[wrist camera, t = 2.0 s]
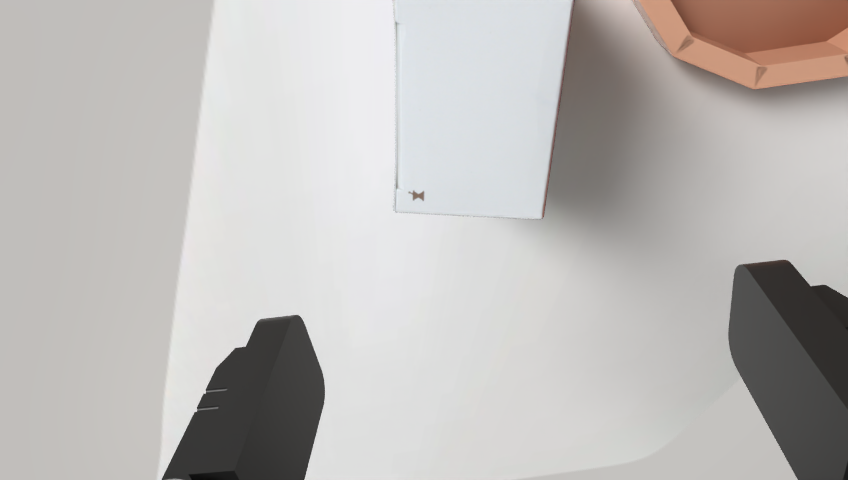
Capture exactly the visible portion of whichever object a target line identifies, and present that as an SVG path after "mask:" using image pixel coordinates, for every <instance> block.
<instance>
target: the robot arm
mask: <svg viewBox="0 0 848 480" xmlns="http://www.w3.org/2000/svg"><path fill="white" fill-rule="evenodd" d="M729 346H730V351H731V355H732V358H733V361H734V364H735V366H736V368H737V370H738V372H739V373H740V375H741V377H742V379H743V381H744V383H745V384H746V386H747V388H748V390H749V392H750V393H751V395H752V397H753V399H754V401H755V403H756V404H757V406H758V408H759V410H760V411H761V413H762V415H763V417H764V419H765V421H766V423H767V424H768V426H769V428H770V430H771V432H772V433H773V435H774V437H775V439H776V441H777V442H778V444H779V446H780V448H781V450H782V452H783V453H784V455H785V457H786V459H787V461H788V462H789V464H790V466H791V468H792V470H793V471H794V473H795V475H796V477H797V479H798V480H848V298H847V297H846V296H843V295H842V294H840V293H839V292H837V291H835V290H833V289H832V288H830V287H828V286H826V285H819V286H810V285H809V284H808V283H807V282H806V280H805V279H804V278H803V277H802V276H801V274H800V273H799V272H798V271H797V270H796V268H795V267H794V266H793V265H792V264H791V263H790V262H789V261H787V260H778V261H769V262H760V263H752V264H743V265H739V266H737V268H736V270H735V273H734V281H733V291H732V301H731V311H730V322H729ZM324 398H325V385H324V378H323V373H322V370H321V368H320V365H319V362H318V359H317V357H316V354H315V351H314V348H313V346H312V343H311V340H310V338H309V335H308V332H307V329H306V327H305V324H304V322H303V320H302V318H301V317H300V316H299V315H292V316H284V317H275V318H266V319H260V320H259V321H258V322H257V324H256V325H255V328H254V330H253V332H252V334H251V337H250V339H249V341H248V343H247V345H246V347H240V348H235V349H234V350H233V351H232V352H231V353H230V354H229V356H228V357H227V358H226V359H225V360H224V361H223V362H222V363H221V364H220V365H219V366H218V367H217V368H216V370H215V372H214V374H213V376H212V378H211V380H210V382H209V384H208V386H207V388H206V394H203V396H202V398H201V400H200V402H199V405H198V407H197V412H195V413H194V415H193V417H192V419H191V421H190V423H189V425H188V427H187V429H186V431H185V433H184V435H183V437H182V439H181V441H180V443H179V445H178V447H177V449H176V451H175V453H174V455H173V457H172V460H171V462H170V464H169V466H168V468H167V470H166V472H165V474H164V476H163V478H162V480H304V479H305V475H306V471H307V467H308V463H309V459H310V455H311V451H312V448H313V444H314V440H315V436H316V432H317V428H318V424H319V420H320V417H321V413H322V409H323V405H324Z"/></svg>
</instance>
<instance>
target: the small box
mask: <svg viewBox="0 0 848 480" xmlns="http://www.w3.org/2000/svg"><path fill="white" fill-rule="evenodd" d="M574 2H575V0H393V13H394V34H395V185H394V204H393V210H394V211H395V212H399V213H417V214H434V215H453V216H473V217H493V218H513V219H536V220H540V219H543V217H544V211H545V204H546V197H547V189H548V183H549V176H550V169H551V162H552V155H553V148H554V141H555V134H556V127H557V120H558V113H559V106H560V99H561V92H562V85H563V78H564V71H565V64H566V57H567V50H568V44H569V36H570V29H571V21H572V14H573V7H574Z"/></svg>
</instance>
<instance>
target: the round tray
mask: <svg viewBox="0 0 848 480" xmlns="http://www.w3.org/2000/svg"><path fill="white" fill-rule="evenodd" d="M632 1H633V3H634V5H635V6H636V8H637V9H638V11H639V13H640V14H641V16H642V17H643V19H644V21H645V22H646V24H647V25H648V27H649V29H650V30H651V32H652V33H653V35H654V37H655V38H656V40H657V41H658V42H659V43H660V44H661V45H662V46H663V47H664V48H665V49H666V50H667V51H668V52H669V53H670V54H671V55H672V56H673V57H675V58H678V59H680V60H683V61H685V62H688V63H690V64H693V65H695V66H697V67H700V68H702V69H705V70H707V71H710V72H712V73H715V74H717V75H720V76H722V77H724V78H727V79H729V80H732V81H734V82H737V83H739V84H742V85H744V86H746V87H749V88H751V89H761V88H768V87H775V86H782V85H789V84H796V83H803V82H810V81H817V80H824V79H831V78H838V77H845V76H848V0H632Z"/></svg>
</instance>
